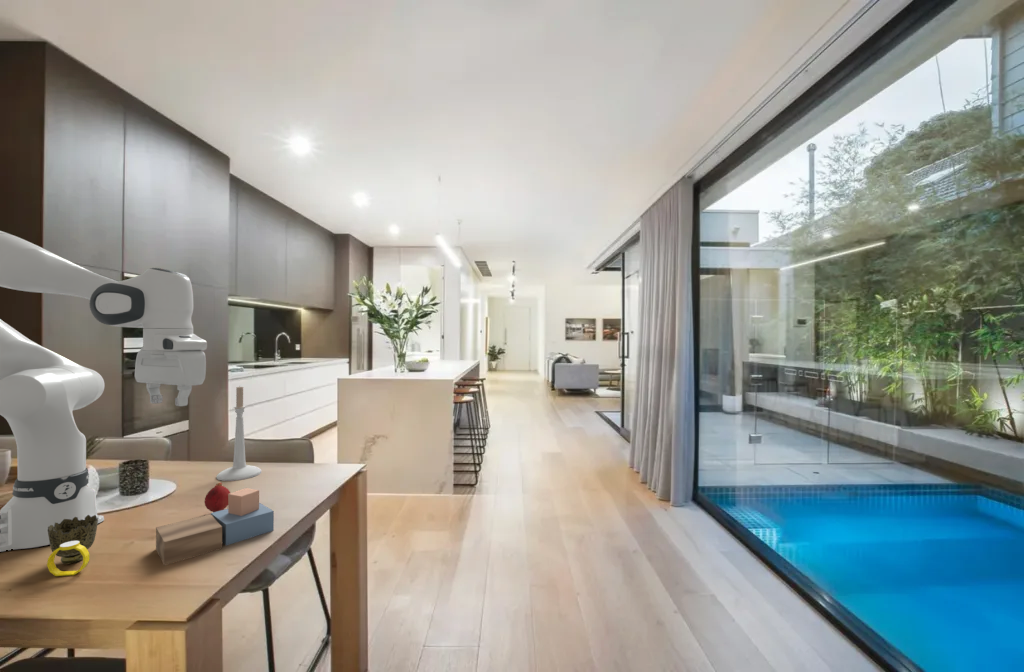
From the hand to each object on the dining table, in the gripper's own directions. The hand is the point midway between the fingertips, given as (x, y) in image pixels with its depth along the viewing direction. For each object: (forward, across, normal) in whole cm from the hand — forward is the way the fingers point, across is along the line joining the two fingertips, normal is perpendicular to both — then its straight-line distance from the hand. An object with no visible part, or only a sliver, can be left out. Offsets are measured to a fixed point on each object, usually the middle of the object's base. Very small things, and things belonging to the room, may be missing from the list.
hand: (168, 404), depth 98 cm
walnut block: (+31, +6, +1) cm, 32 cm away
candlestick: (+31, -35, +40) cm, 62 cm away
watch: (+31, -4, -15) cm, 35 cm away
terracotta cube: (+26, +8, +12) cm, 30 cm away
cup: (+31, -10, -12) cm, 35 cm away
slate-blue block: (+32, +8, +11) cm, 34 cm away
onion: (+31, -8, +16) cm, 36 cm away
